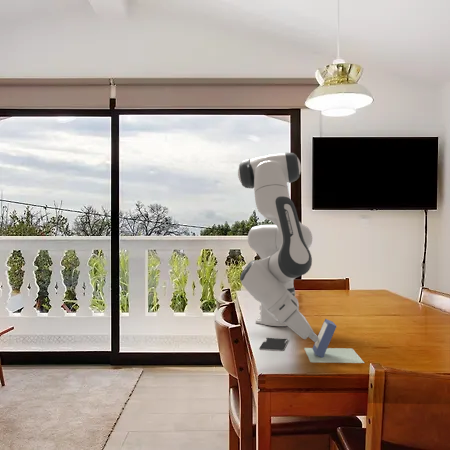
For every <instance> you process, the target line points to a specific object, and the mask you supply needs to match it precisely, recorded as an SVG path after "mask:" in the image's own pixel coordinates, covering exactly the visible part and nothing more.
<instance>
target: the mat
mask: <svg viewBox="0 0 450 450" xmlns="http://www.w3.org/2000/svg"><path fill="white" fill-rule="evenodd" d="M303 349H304V351H305V354H306V356H307V357H308V360H309V362H310V363H325V364H326V363H327V364H329V363H331V364H332V363H334V364H335V363H336V364H337V363H338V364H344V363H345V364H365V362H364V360H363V359H362V358H361V357H360V355H358V353H357V352H356V351H355V350H354V348H351V347H350V348H348V347H347V348H344V347H334V348H332V347H327V350H326V352H325V354H324V357H323V358H322V357H320V356H318V355H315V353H314V351H313V347H304V348H303Z"/></svg>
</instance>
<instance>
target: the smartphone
mask: <svg viewBox="0 0 450 450" xmlns="http://www.w3.org/2000/svg"><path fill="white" fill-rule="evenodd" d="M288 342H289V338H285V337H284V338H283V337H265V338H264V340H263V341H262V343H261V344H260V346H259V349H258V350H260V351H273V352H275V351H276V352H284V351H285V348H286V347H287V344H288Z"/></svg>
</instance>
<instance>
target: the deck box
mask: <svg viewBox="0 0 450 450" xmlns="http://www.w3.org/2000/svg"><path fill="white" fill-rule="evenodd" d="M337 327H338V326H337V324H335V322H334V321H332V320H330V319H327V318H325V319H324V321H323V323H322V325H321V328H320V331H319V332H318V334H317V336H318V338H319V340H318V341H317V342H314V344H313V347H312V348H313V351H314V353H315V355H318V356H320V357H322V358H323V357H324V354H325V352H326V350H327V348H329V345H330V342H331V341H332V338H333V336H334V334H335V331H336V329H337Z"/></svg>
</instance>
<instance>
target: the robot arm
mask: <svg viewBox="0 0 450 450" xmlns="http://www.w3.org/2000/svg"><path fill="white" fill-rule="evenodd" d="M239 163H240V164H239V165H238V170H237V177H238V179H239V182H240V183H241V185H242V187H244V188H245V189H253V191H254V200H255V207H256V209H257V210H258V212H259V214H260V215H262V216H263V217H264V218H265V220H267V221H269V222H272V224H260V225H255V226H252V227H251V228H250V229H249V231H248V234H247V242H248V246H249V247H250V248H251V250H253V251H254V252H255V253H256V254H257V255H258V256H259V258H260V259H258V260H257V259H256V260H255V259H253V260H251V261H249V262H248V263H247V265H246V266H245V267H244V269H243V270H242V271H241V273H240V277H239V281H240V283H241V284H242V286H243V287H244V289H245V290H246V291H247V292H248V293H249V295H250V296H252V298H253V299H254V300H256V301H258V302H259V316H258V318H257V319H255V323H256V324H261V325H264V326H265V325H266V326H270V327H271V326H272V327H288V329H290V330H292V332H293V333H295V334H296V335H297V336H298V337H300V338H301V339H303V340H307V339H308V338H309V339H311V341H313V342H314V343H315V342H317V341H318V340H319V338H318V334H316V333H315V332H314V329H313V328H312V326H311V325H310V323H309V321H307V318H306V317H305V315H303V314H302V312H300V305H299V299H298V298H296V297H295V295H296V290H295V289H296V288H295V287H294V282H295V281H294V280H295V279H296V278H299V277H301V276H304V275H306V274H307V273H308V272H309V271H310V269H311V267H312V263H313V258H312V254H311V251H310V247H312V243H313V234H312V232H311V229H310V228H309V227H308V226H306V225H304V224H303V223H302V222H301V221H300V220H299V217H298V212H297V208H296V206H295V204H294V202H293V200H292V199H291V198H290V193H289V188H288V187H289V186H288V183H290V184H291V183H293V182H295V181H297V180H298V179H299V178H300V175H301V173H302V171H301V170H302V165H301V161H300V159H299V157H298V156H297V154H296V153H294V152H285V153H271V154H267V155H262V156H258V157H257V156H256V157H254V158H246V159H244V160H242V161H241V162H239Z"/></svg>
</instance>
